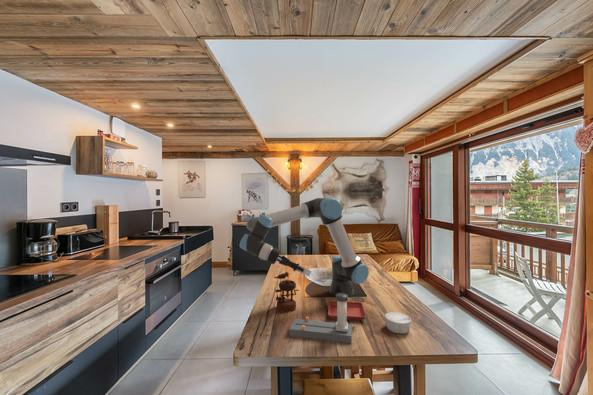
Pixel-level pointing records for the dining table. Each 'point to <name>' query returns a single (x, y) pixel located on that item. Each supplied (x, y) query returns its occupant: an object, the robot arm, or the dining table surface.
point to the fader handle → (342, 312)
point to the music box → (287, 286)
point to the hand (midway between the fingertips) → (310, 273)
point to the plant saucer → (348, 311)
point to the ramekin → (398, 322)
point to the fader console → (319, 331)
